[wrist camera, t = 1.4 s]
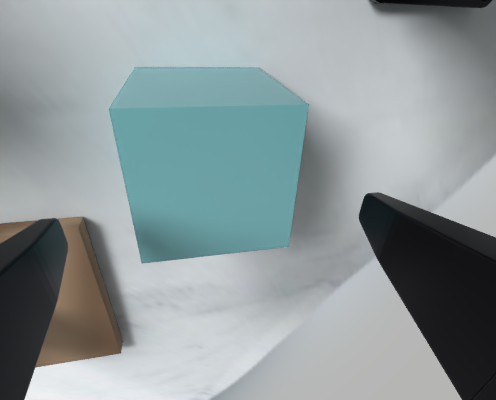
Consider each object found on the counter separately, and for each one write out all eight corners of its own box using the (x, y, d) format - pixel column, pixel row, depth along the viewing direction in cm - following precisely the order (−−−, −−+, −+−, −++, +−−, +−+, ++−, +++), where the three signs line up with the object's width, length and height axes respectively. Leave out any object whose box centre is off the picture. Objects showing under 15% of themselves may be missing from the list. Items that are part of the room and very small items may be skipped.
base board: (82, 216, 17) (78, 227, 16) (122, 341, 24) (120, 353, 23) (-180, 238, 15) (-201, 252, 14) (-57, 369, 21) (-66, 383, 21)
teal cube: (259, 67, 15) (308, 104, 9) (254, 173, 18) (288, 246, 12) (135, 67, 14) (108, 108, 8) (152, 179, 17) (141, 263, 11)
